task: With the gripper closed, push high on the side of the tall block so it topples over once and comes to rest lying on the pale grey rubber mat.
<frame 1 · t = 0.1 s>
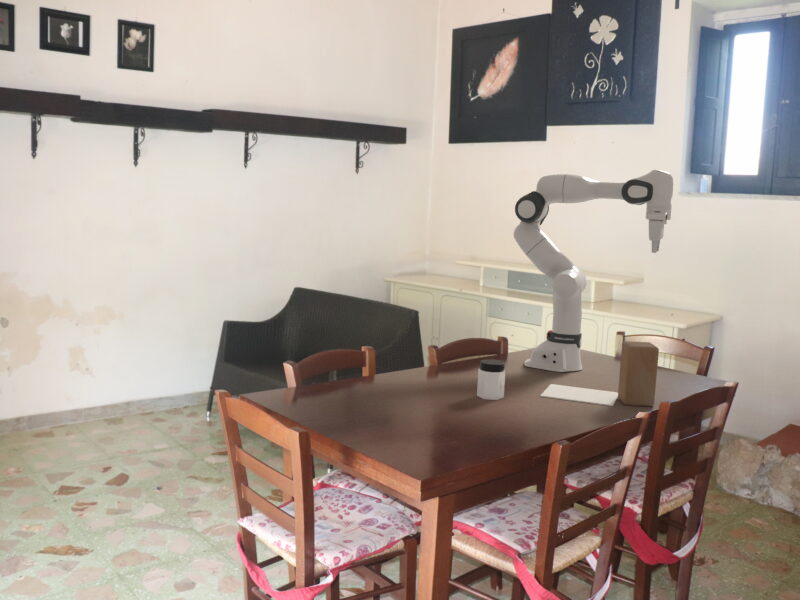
hand: (655, 251, 298), 48 cm above the table, fingers open, 8 cm apart
jar: (490, 397, 268), on the table
mat: (580, 395, 275), on the table
block: (635, 403, 268), on the table
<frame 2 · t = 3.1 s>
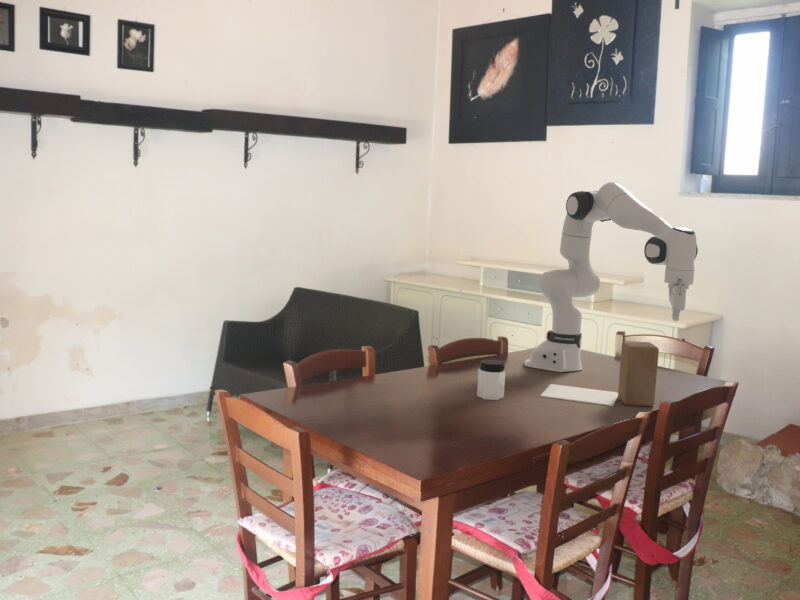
hand: (675, 320, 260), 29 cm above the table, fingers closed
nothing on the table moved.
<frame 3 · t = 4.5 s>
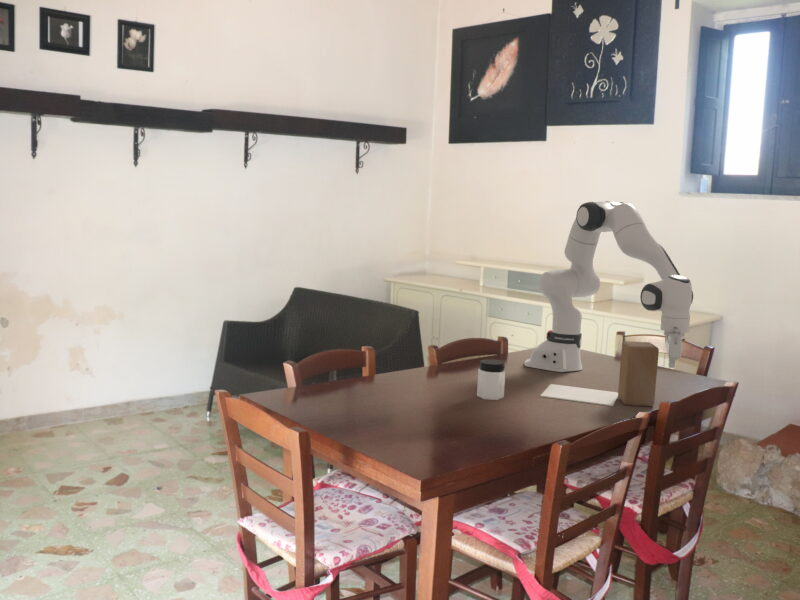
hand: (671, 366, 263), 13 cm above the table, fingers closed
nothing on the table moved.
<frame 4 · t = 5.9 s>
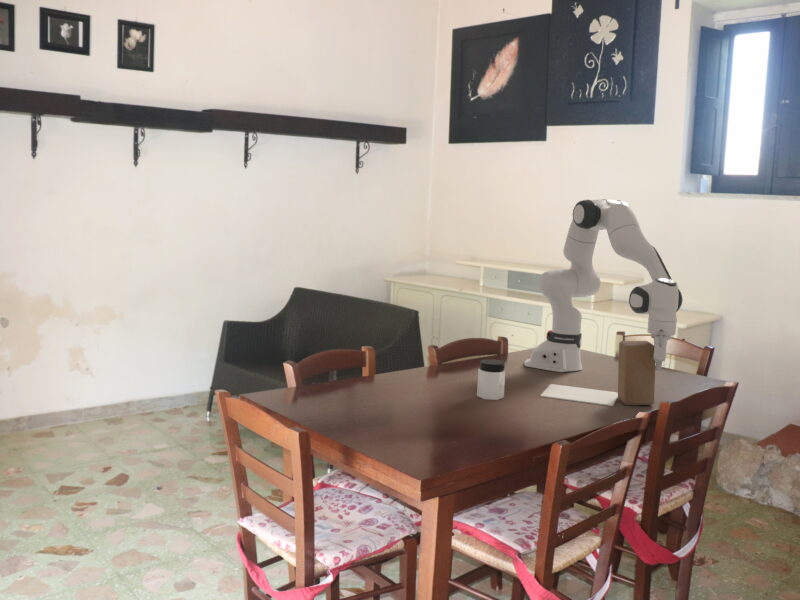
hand: (658, 369, 264), 12 cm above the table, fingers closed
block: (635, 402, 268), on the table, touching gripper
everything else where it was.
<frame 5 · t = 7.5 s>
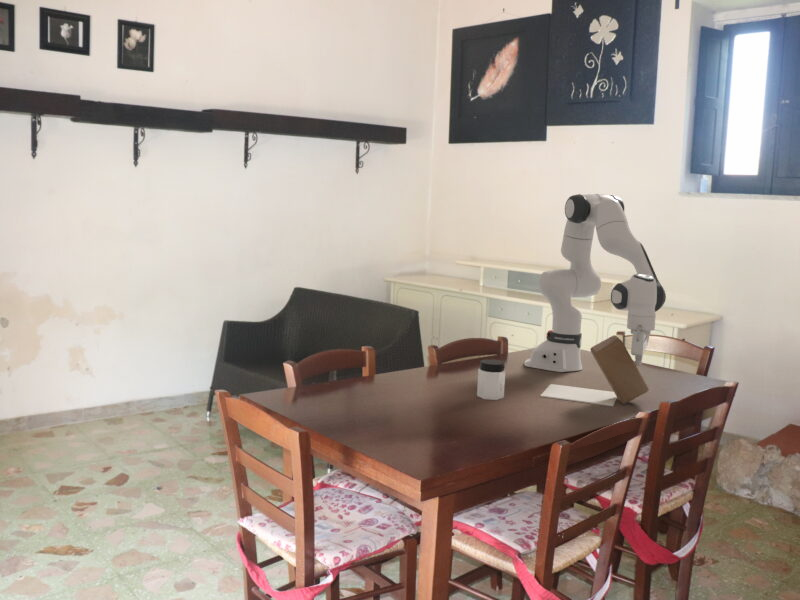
hand: (638, 365, 266), 13 cm above the table, fingers closed
block: (633, 395, 268), point 3 cm above the table, touching gripper, mat
everything else where it was.
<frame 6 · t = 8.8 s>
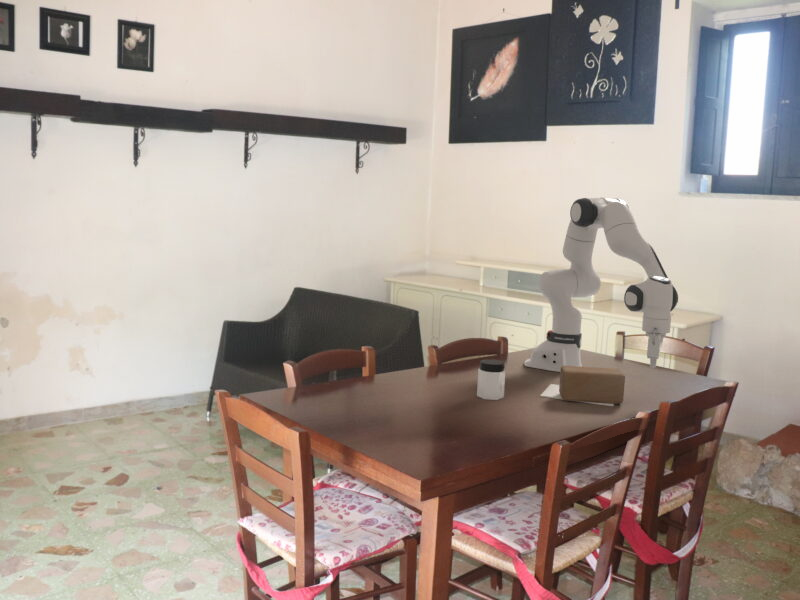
hand: (653, 367, 264), 13 cm above the table, fingers closed
block: (622, 386, 268), point 5 cm above the table, touching mat
everything else where it was.
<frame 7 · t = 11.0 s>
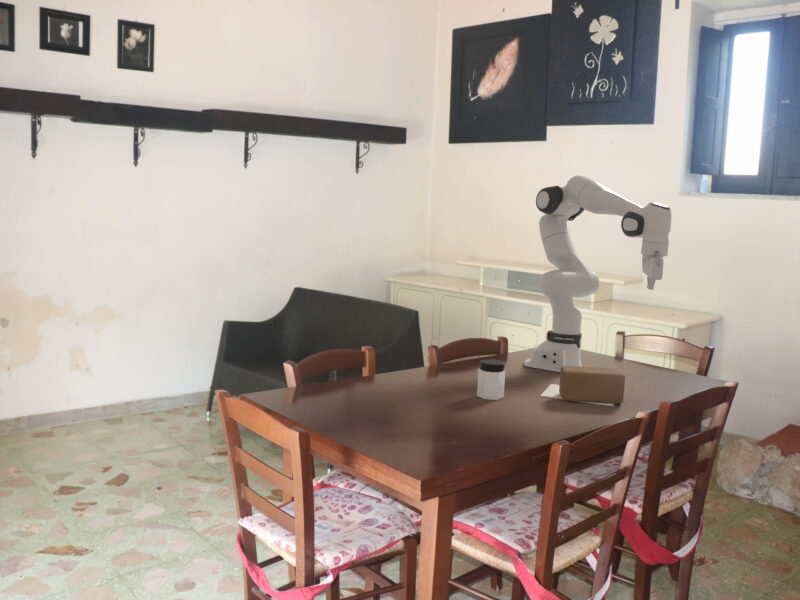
hand: (650, 289, 281), 36 cm above the table, fingers closed
nothing on the table moved.
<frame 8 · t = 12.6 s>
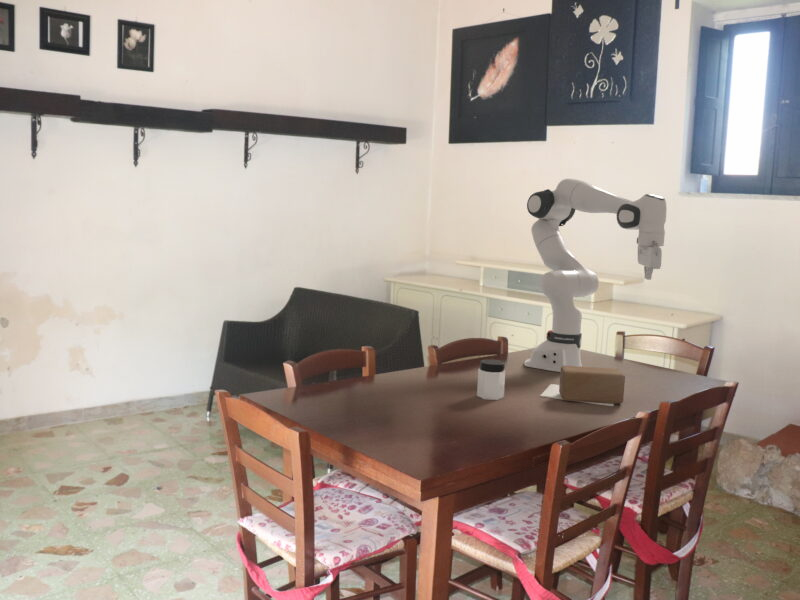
hand: (647, 279, 286), 39 cm above the table, fingers closed
nothing on the table moved.
at the end: block tilted 90°; block touching mat; block inside the target area (6.5 cm from its centre), point 5.4 cm above the table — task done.
